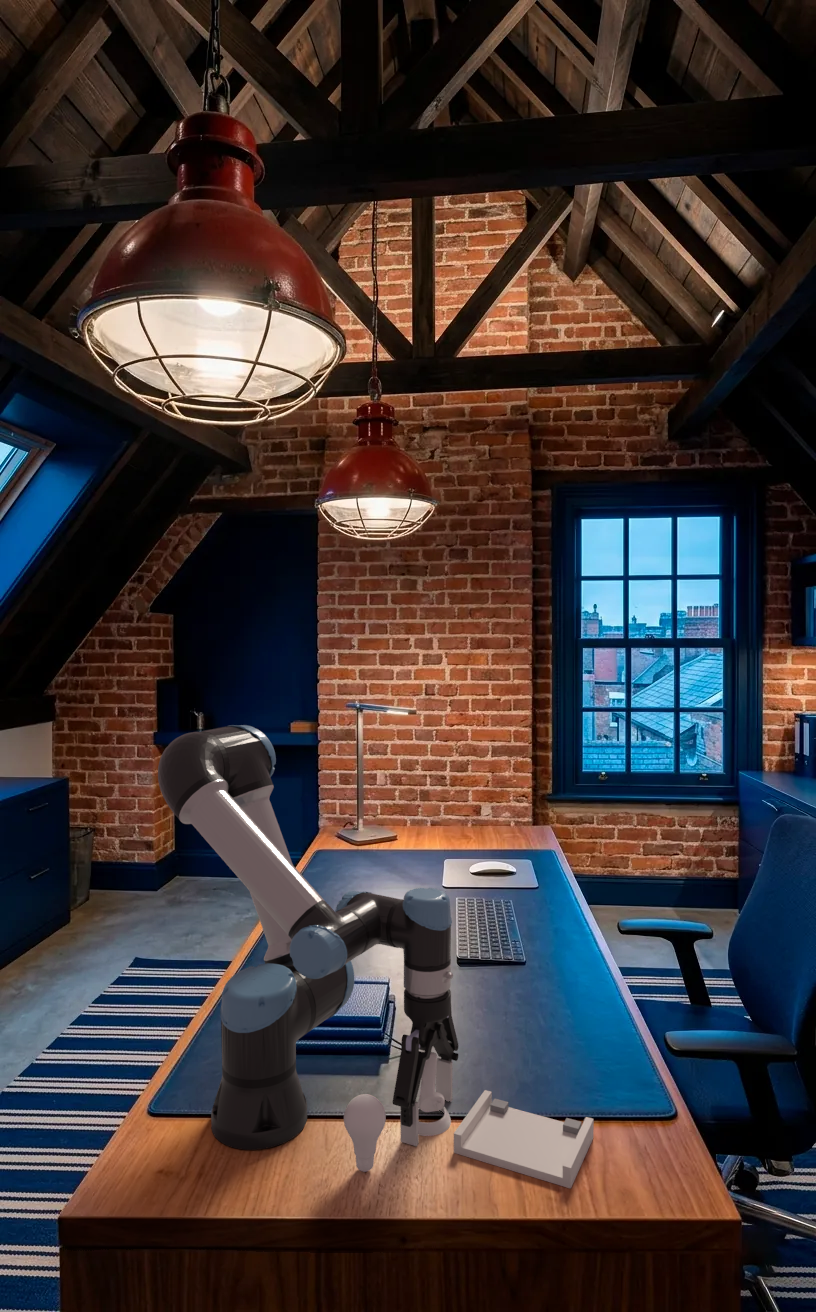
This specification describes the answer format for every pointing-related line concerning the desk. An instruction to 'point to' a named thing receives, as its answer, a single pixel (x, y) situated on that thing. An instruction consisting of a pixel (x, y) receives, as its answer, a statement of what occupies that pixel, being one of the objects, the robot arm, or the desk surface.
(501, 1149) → the panel
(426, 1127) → the hook
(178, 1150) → the desk surface
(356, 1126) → the lightbulb
